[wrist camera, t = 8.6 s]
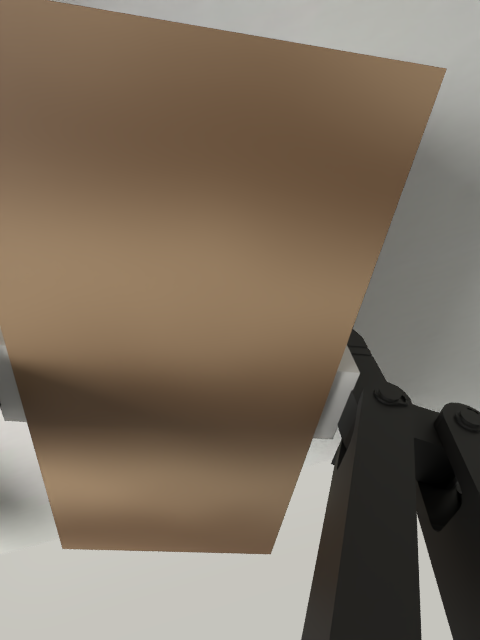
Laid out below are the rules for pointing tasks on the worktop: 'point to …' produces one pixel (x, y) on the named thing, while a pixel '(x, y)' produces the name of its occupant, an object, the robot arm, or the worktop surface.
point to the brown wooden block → (186, 260)
